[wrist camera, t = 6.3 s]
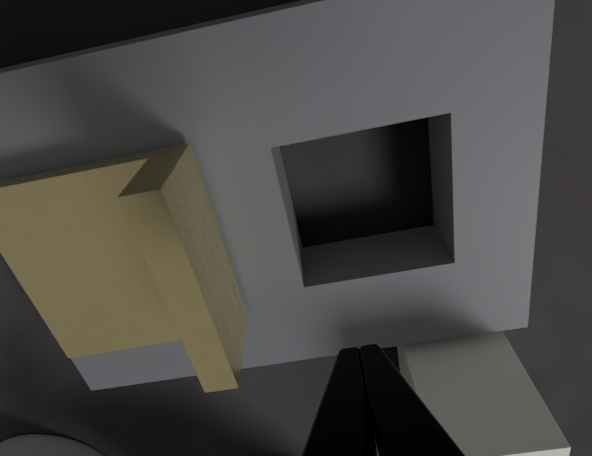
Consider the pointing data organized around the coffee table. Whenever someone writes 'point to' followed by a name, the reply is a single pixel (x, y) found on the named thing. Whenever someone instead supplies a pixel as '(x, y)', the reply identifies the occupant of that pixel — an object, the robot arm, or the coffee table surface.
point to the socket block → (308, 126)
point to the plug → (482, 396)
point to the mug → (44, 446)
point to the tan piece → (127, 259)
